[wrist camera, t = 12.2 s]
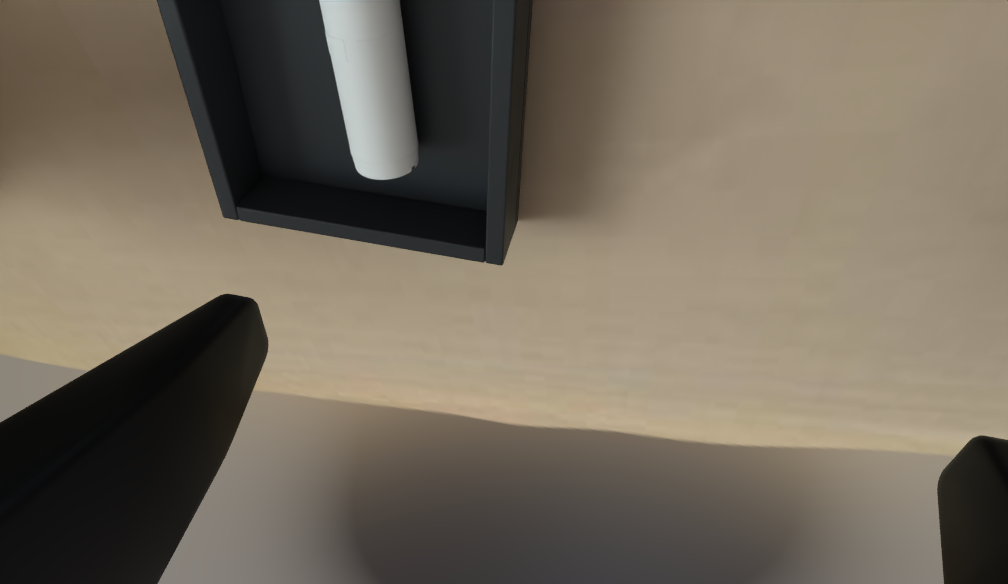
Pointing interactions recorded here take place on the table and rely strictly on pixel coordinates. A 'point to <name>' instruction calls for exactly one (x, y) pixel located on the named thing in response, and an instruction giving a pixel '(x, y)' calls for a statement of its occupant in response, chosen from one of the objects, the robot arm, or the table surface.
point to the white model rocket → (373, 84)
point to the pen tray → (321, 128)
